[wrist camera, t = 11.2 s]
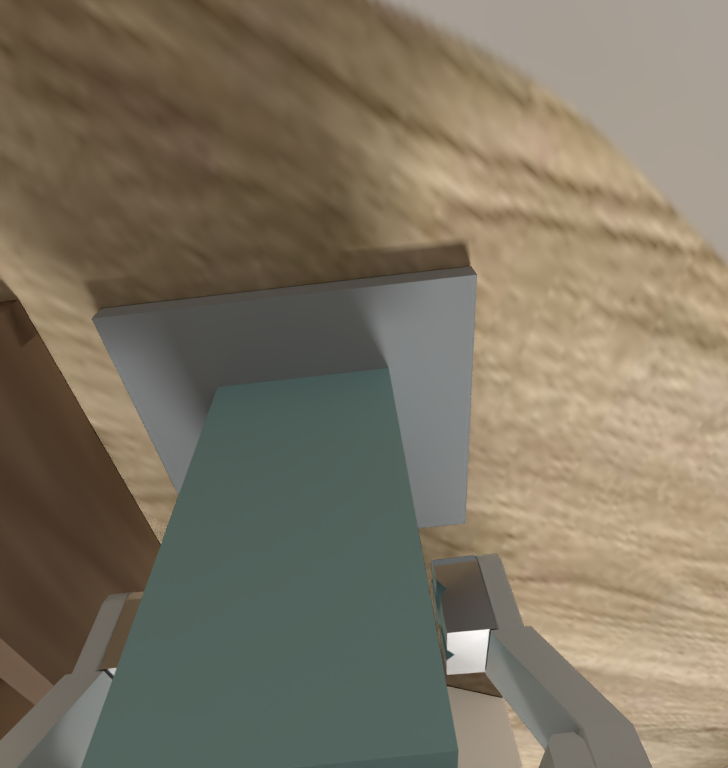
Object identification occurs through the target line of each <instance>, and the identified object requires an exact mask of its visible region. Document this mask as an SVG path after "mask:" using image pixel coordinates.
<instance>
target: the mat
mask: <svg viewBox="0 0 728 768" xmlns="http://www.w3.org/2000/svg"><path fill="white" fill-rule="evenodd" d="M476 283H477V274H476V273H475V271H474V270H473V268H472V267H471V266H468V267H460V268H451V269H442V270H434V271H425V272H416V273H407V274H399V275H390V276H381V277H372V278H364V279H355V280H346V281H338V282H329V283H320V284H311V285H303V286H294V287H285V288H276V289H268V290H259V291H250V292H242V293H233V294H224V295H215V296H207V297H198V298H189V299H181V300H172V301H163V302H154V303H146V304H137V305H128V306H119V307H111V308H102V309H100V311H99V312H98V313H97V314H96V315H95V316H94V317H93V318H92V320H93V322H94V324H95V326H96V328H97V330H98V333H99V335H100V337H101V339H102V341H103V343H104V345H105V347H106V349H107V351H108V353H109V355H110V357H111V359H112V361H113V363H114V365H115V367H116V369H117V371H118V373H119V375H120V377H121V379H122V381H123V383H124V385H125V387H126V389H127V392H128V394H129V396H130V398H131V400H132V402H133V404H134V406H135V408H136V410H137V412H138V414H139V416H140V418H141V420H142V422H143V424H144V426H145V428H146V430H147V432H148V434H149V436H150V438H151V440H152V442H153V444H154V446H155V448H156V451H157V453H158V455H159V457H160V459H161V461H162V463H163V465H164V467H165V469H166V471H167V473H168V475H169V477H170V479H171V481H172V483H173V485H174V487H175V489H176V491H177V493H178V495H179V493H180V490H181V487H182V484H183V482H184V479H185V476H186V473H187V471H188V468H189V465H190V462H191V459H192V457H193V454H194V451H195V448H196V445H197V443H198V440H199V437H200V434H201V431H202V429H203V426H204V423H205V420H206V418H207V415H208V412H209V409H210V406H211V404H212V401H213V398H214V395H215V392H216V390H217V387H224V386H233V385H242V384H251V383H260V382H269V381H277V380H286V379H295V378H304V377H313V376H322V375H331V374H340V373H349V372H358V371H366V370H375V369H384V368H389V372H390V378H391V383H392V389H393V394H394V400H395V405H396V410H397V416H398V421H399V427H400V432H401V438H402V443H403V449H404V454H405V460H406V465H407V471H408V476H409V482H410V487H411V493H412V498H413V504H414V509H415V515H416V520H417V526H418V528H427V527H436V526H445V525H454V524H464V523H465V518H466V497H467V475H468V454H469V432H470V411H471V390H472V368H473V347H474V325H475V304H476Z"/></svg>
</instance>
